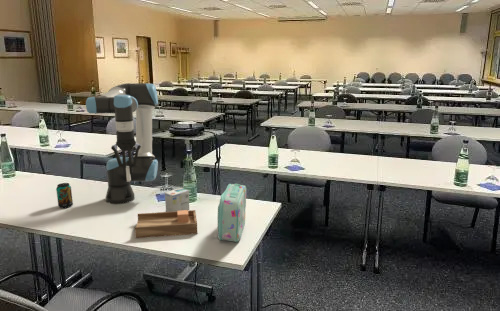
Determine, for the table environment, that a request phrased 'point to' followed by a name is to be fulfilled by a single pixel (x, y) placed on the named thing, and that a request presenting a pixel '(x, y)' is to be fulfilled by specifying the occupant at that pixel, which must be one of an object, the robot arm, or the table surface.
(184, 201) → the light bulb box
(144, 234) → the box
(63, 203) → the beverage can
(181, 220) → the block
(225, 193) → the lunch box
